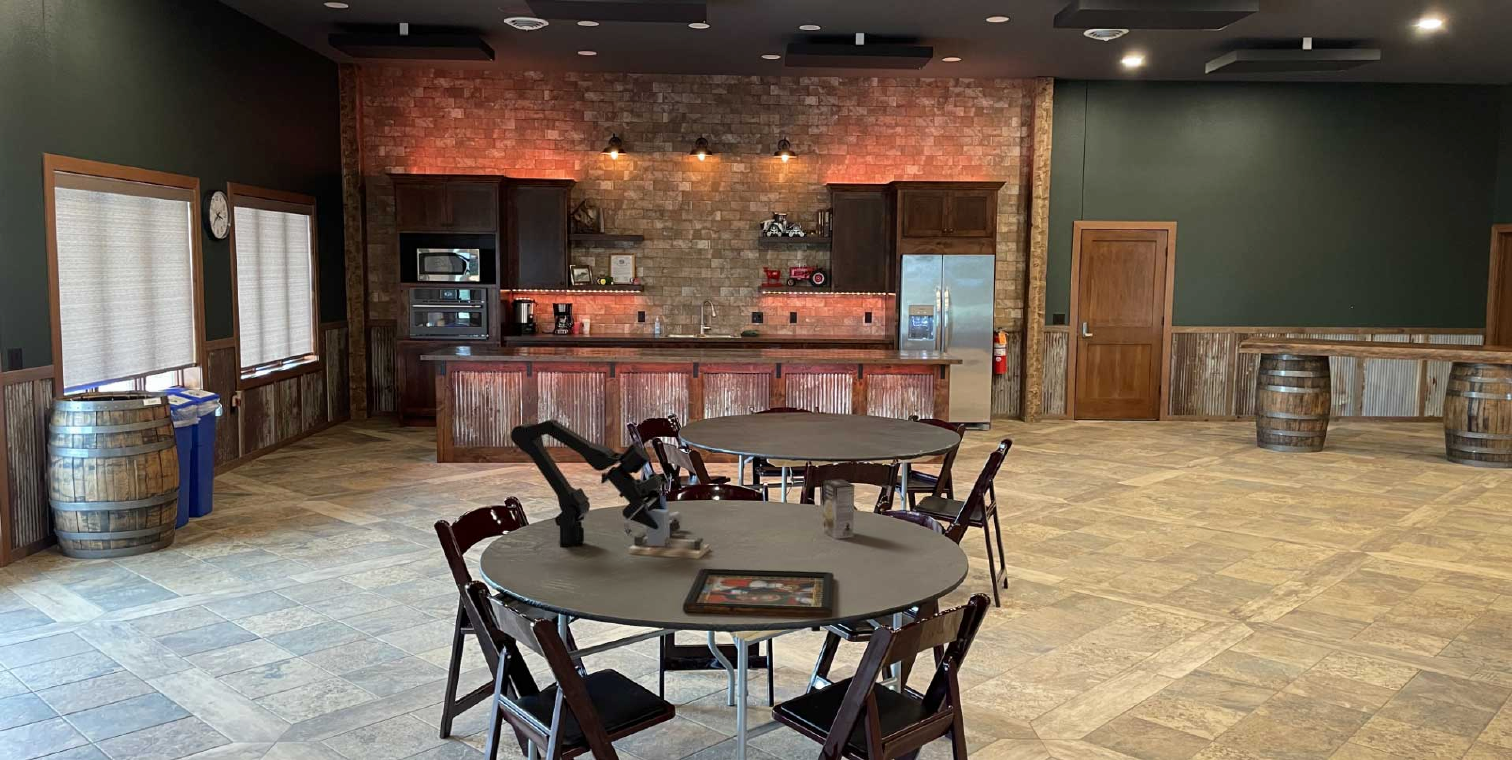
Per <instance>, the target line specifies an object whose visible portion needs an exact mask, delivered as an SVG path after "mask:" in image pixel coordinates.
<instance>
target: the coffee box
mask: <svg viewBox="0 0 1512 760" xmlns="http://www.w3.org/2000/svg"><path fill="white" fill-rule="evenodd" d="M854 508H855V484H852V483H851V482H849V481H846V480H845V479H843V478H840V479H829V480H823V508H822V509H823V513H822V515H823V517H822V519H823V521H822V522H823V523H822V524H823V527H822V528H823V529H822V532H823V533H825V534H826V535H828V536H830V537H831V538H833V539H835V540H839V539H848V538H854V521H855V520H854V517H855V514H854V513H855V509H854Z"/></svg>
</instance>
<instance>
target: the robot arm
mask: <svg viewBox="0 0 1512 760" xmlns="http://www.w3.org/2000/svg"><path fill="white" fill-rule="evenodd" d="M545 435H548V436H550V437H551V438H553V439H554V440H556V441H558V442H560V443H561V444H562V445H564V446H566V447H567V448H569V449H570V450H573V451H574V452H576V453H578V454H579V455H580V456H581V457H582V458H583V460H584V461H585V463H587V464H588V465H590V467H592V468H593V469H594V470H595V471H598V472H601V471H605V470H607V469H609V468H610V469H609V470H608V471H607V472H602V473H601V484H605V483H608V482H610V483H611V484H612V486H614V488H615V489H616V490H617V491H618V492H619V495H618V496H619V497H620V498H623V497H624V499H625V500H626V501H627V502H628V504H627V505H626V506H625V507H624V508H623V509H622V516H623V517H624V518H625V519H626V520H630V521H632V522H635V523H636V522H637V524H638V523H639V524H641V525H642V526H643V525H644V526H645V527H647V526H648V527H651V528H653V529H655V530H657V529H658V528H659V526H658V525H657V523H656V522H655V520H654V519H653V518H652V516H651V515H650V514H649V512H648V511H651V510H652V509H661V510H665V509H664V507H663V504H662V497H664V494H663V493H664V491H663V490H662V489H661V488H660V487H661V486H663V482H662V480H663V477H662V476H661V475H660V474H658V473H656V472H653V473H650V474H648V478H647V479H645V480H642V479H641V478H635V477H634V476H633V475H632V474H638V473H639V472H640V471H641V470H642V469H643V468H644V467H645V466H646V465H647V464H648V463H649V462H650V461H651V460H652V459H651V456H650V454H649V451H647V450H646V449H644V448H643V447H641V446H638V445H637V444H636V443H635V442H634V443H631V445H629V446H628V448H627V449H626V451H624V452H622V453H621V452H616V451H615V450H613V448H611V447H608V446H605V445H602V444H599V443H595V442H593V441H589V440H588V439H586V438H585V437H583V436H581V435H580V434H579V433H577V432H575V431H573V430H572V429H570V428H568V427H567V426H565V425H563V424H561V423H560V422H559V421H558V420H557V419H555V418H550V419H548V420H545V421H542V422H539V423H536V424H534V423H532V422H526V423H523V424H520V425H516V426H515V427H513V428H512V429H511V432H510V440H511V441H512V443H513V444H514V445H515V446H516V447H517V448H518V449H519V450H520V451H522V453H523V452H524V453H525V454H527V456H529V457H530V459H531V460H532V461H533V462H534V464H535V466H536V467H537V468H538V470H539V472H540V473H541V474H542V476H543V477H544V478H545V480H546V482H547V483H548V484H549V486H550V487H551V489H552V491H553V492H554V493H555V494H556V497H557V501H558V505H559V506H558V507H559V508H560V511H561V512H560V513H559V514H558V515H557V516H556V517H555V518H554V521H555V524H556V526H557V527H558V545H559V547H561V548H563V547H566V548H567V547H580V546H583V545H584V541H585V538H584V537H585V533H584V532H585V531H584V526H583V525H582V521H584V519H585V516H586V515H587V514H588V513H589V511H590V507H591V504H590V502H589V500H590V498H589V497H588V496H587V495H586V494H585V492H584V490H583V489H582V488H581V487H580V488H577V489H575V488H574V487H572V486H571V484H570V483H569V481H568V480H567V478H566V476H565V475H564V474H563V473H562V471H561V470H560V468H559V467H558V465H557V464H556V462H555V461H554V459H553V458H552V456H551V455H550V453H549V452H548V451H547V450H546V448H545V445H544V442H543V441H544V440H543V436H545ZM615 465H617V466H615ZM660 495H661V496H660Z"/></svg>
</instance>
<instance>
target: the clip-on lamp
mask: <svg viewBox="0 0 1512 760" xmlns="http://www.w3.org/2000/svg"><path fill="white" fill-rule="evenodd" d="M682 521H683V514H682V513H681V512H679V511H673V512H670V533H671V532H675V531H678V530H680V529H681V524H680V523H681V522H682ZM623 524H624V529H625V532H626V533H629V532H630V528H629V527H630V526H629V524H633V525H636V526H637V527H639V528H642V529H647V526H643V525H640V523H639V524H638V522H637V523H636V521H633V520H630V521H625V522H624V523H623Z"/></svg>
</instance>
